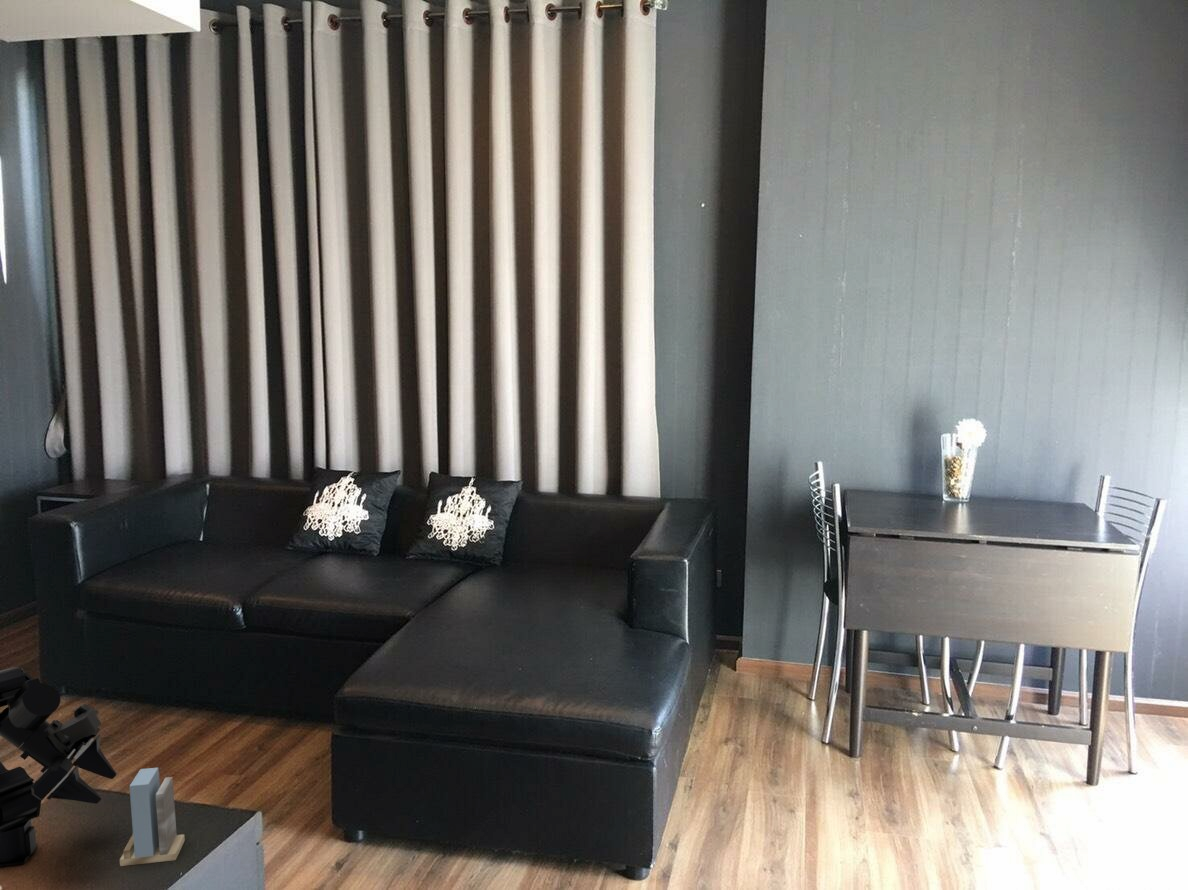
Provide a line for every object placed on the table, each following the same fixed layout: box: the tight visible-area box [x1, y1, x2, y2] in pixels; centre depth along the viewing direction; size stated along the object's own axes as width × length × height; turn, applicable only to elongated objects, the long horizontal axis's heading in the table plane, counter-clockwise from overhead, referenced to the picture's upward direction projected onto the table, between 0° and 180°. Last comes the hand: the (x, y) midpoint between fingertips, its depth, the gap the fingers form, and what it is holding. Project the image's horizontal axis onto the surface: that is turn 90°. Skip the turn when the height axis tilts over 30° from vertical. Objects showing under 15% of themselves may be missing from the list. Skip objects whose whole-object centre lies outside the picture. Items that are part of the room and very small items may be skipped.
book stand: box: [119, 776, 186, 867], centre depth 166 cm, size 9×6×12 cm
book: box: [129, 767, 161, 858], centre depth 165 cm, size 3×6×13 cm, turn 11°
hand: (107, 788), depth 164 cm, fingers open, 9 cm apart
